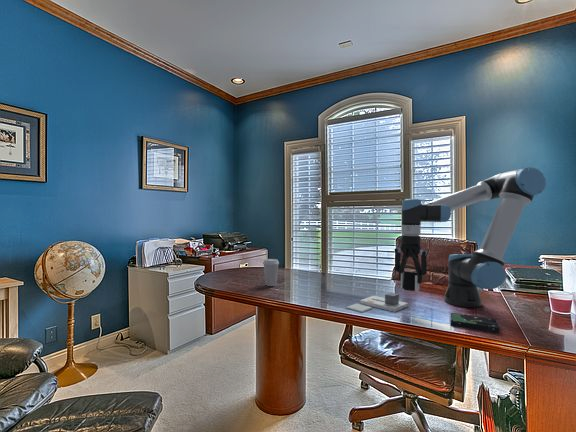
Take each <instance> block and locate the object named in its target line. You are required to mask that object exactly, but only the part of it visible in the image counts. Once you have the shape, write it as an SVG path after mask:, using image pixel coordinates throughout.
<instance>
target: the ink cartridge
mask: <svg viewBox="0 0 576 432" xmlns="http://www.w3.org/2000/svg"><path fill="white" fill-rule="evenodd" d="M403 273H404V283H403V290H404V291H409V292H410V291H411V292H416V291H415V276H416V275H417V272H416V271H414V270H404V272H403Z"/></svg>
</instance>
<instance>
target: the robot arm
mask: <svg viewBox="0 0 576 432" xmlns="http://www.w3.org/2000/svg"><path fill="white" fill-rule="evenodd" d="M546 185H547V180H546V177H545V176H544V173H543V172H542V171H541V170H539V169H538V168H536V167H531V166H529V167H521V168H518V169H514V170H508V171H504V172H500V173H497V174H496V175H492V176H491V177H488V178H486V179H484V180H481V181H479V182H477V184H476V185H473V186H471V187H468V188H465V189H462V190H459V191H457V192H454V193H451V194H447V195H445V196H443V197H440V198H437V199H434V200H432V201H428V202H426V203H422V199H419V198H405V199H403V200H402V204H401V239H400V240H401V245H400V247H397V248H394V253H395V255H394V256H395V258H394V271H395V272H397V273H398V280H399V281H400V289H402V290H404V288H403V283H404V271H405V268H406V266H407V262H408V259H409V258H412V260H413V265H414V268H415V272H416V273H417V275H416V276H415V291H414V292H419V291H420V284H422V282H423V280H422V279H423V276H425V275H427V274H428V272H427V271H428V269H427V256H428V253H429V251H428V250H424V249H422V247H421V236H420V235H421V232H422V231H421V229H422V228H421V224H422V222H426V223H427V222H428V223H432V222H433V223H446V222H449V221H450V219H451V216H452V212H453V211H456V210H459V209H462V208H465V207H467V206H471V205H473V204H476V203H479V202H482V201H486V202H487V201H491V200H496V199H500V201H499V204H498V205H497V207H496V210H495V213H494V215H493V217H492V220H491V222H490V224H489V226H488V228H487V230H486V233H485V235H484V238H483V240H482V242H481V245H480V246H479V248H478V249H477V250H474V251H473V253H457V254H456V253H453V254H449V256H448V261H447V263H448V285H447V288H446V290H445V293H444V295H443V296H444V298H443V299H444V302H445V303H448V304H450V305H453V306H459V307H462V308H463V307H464V308H479V307H481V306H482V298H481V295H480V292H479V290H478V288H479V289H484V290H495V289H497V288H499V287H501V286H502V285H503V284H504V283H505V281H506V279H507V272H506V269H505V267H504V265H505V264H506V262H505V260H504V259H503V257H504V255H505V252H506V251H507V248H508V245H509V243H510V241H511V239H512V237H513V234H514V231H515V229H516V228H517V225H518V223H519V220H520V218H521V216H522V213H523V211H524V208H525V206H527V205H530V204H531V203H532V202H533V199H534V196H537V195H539V194H541V193H543V192H544V191H545V189H546ZM401 253H402V256H401ZM419 254H420V255H421V256H420V259H419ZM401 257H402V259H401ZM420 260H421V261H420ZM420 262H421V263H420Z"/></svg>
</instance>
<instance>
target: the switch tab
mask: <svg viewBox="0 0 576 432" xmlns="http://www.w3.org/2000/svg"><path fill="white" fill-rule="evenodd" d="M384 298H385V303H386V304H390V305H395V304H398V303H399V301H400V299H399V298H400V294H399V293H394V292H388V293H385V294H384Z"/></svg>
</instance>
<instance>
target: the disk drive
mask: <svg viewBox="0 0 576 432" xmlns="http://www.w3.org/2000/svg"><path fill="white" fill-rule="evenodd" d="M450 327H456V328H462V329H466V330H467V329H468V330H473V331H479V332H484V333H485V332H486V333H491V334H496V333H497V335H499V334H500V327H499V325H498V323H497V319H495V318H489V317H482V316H476V315H469V314H462V313H455V312H451V313H450Z"/></svg>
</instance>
